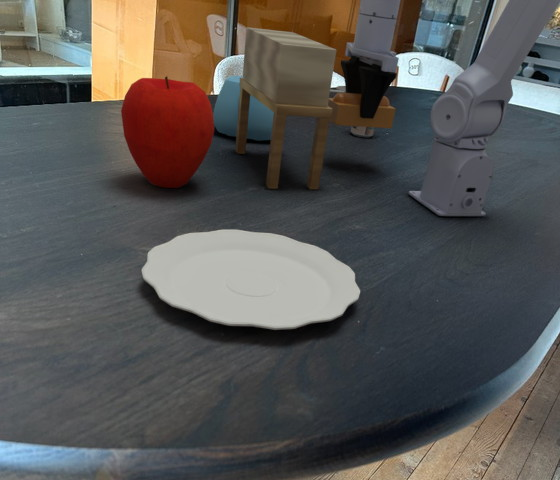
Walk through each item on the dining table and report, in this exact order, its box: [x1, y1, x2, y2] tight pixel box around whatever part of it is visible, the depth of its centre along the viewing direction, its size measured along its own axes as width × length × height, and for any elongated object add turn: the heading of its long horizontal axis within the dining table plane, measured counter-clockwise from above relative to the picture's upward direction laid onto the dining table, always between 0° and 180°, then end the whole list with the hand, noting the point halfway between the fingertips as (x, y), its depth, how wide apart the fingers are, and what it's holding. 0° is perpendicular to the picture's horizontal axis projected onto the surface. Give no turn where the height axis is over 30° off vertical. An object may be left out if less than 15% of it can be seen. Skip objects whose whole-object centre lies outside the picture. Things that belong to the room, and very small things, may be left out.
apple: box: [120, 75, 215, 189], centre depth 77 cm, size 12×12×13 cm
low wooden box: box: [328, 93, 397, 129], centre depth 94 cm, size 5×10×4 cm, turn 108°
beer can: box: [350, 126, 375, 139], centre depth 117 cm, size 5×5×12 cm
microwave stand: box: [235, 26, 337, 190], centre depth 88 cm, size 19×8×18 cm, turn 18°
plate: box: [141, 229, 361, 331], centre depth 58 cm, size 21×21×2 cm
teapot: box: [213, 75, 274, 142], centre depth 107 cm, size 13×11×18 cm
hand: (359, 113), depth 95 cm, fingers closed on low wooden box, 5 cm apart
